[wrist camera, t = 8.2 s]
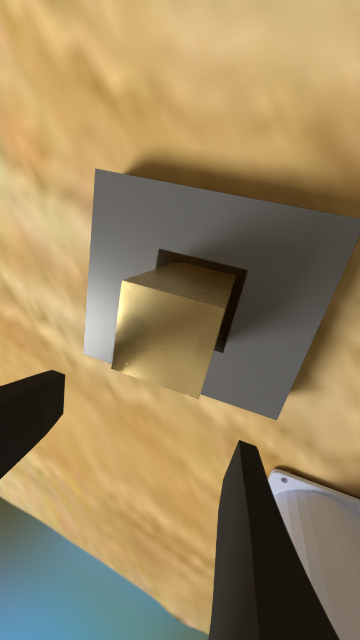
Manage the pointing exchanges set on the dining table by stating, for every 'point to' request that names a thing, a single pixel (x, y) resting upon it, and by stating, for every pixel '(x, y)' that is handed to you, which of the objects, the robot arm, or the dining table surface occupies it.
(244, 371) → the grey flat slab
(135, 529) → the dining table surface
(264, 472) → the robot arm
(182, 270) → the plug block
